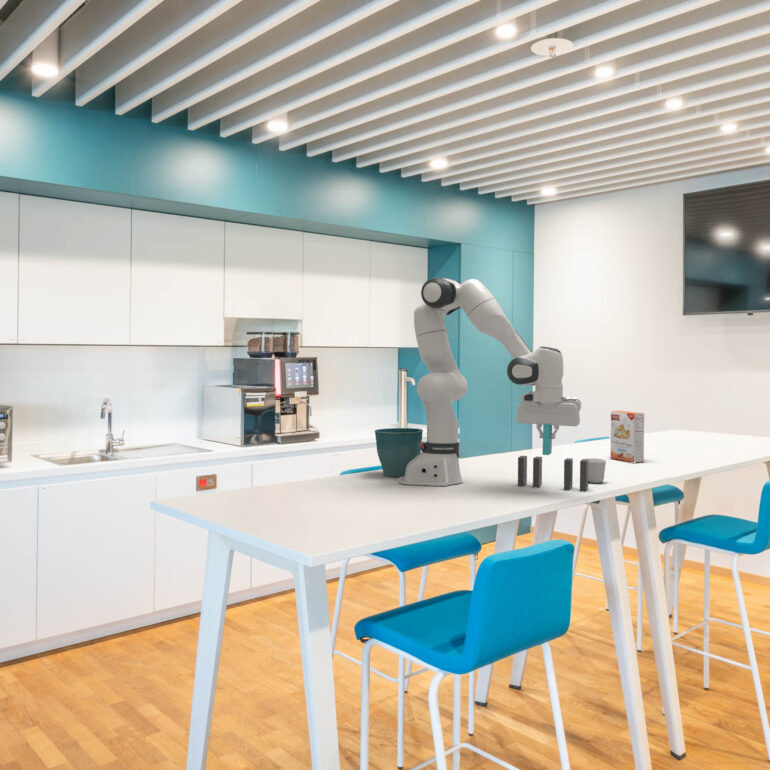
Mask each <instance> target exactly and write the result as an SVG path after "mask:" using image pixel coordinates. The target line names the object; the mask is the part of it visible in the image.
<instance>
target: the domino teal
mask: <svg viewBox="0 0 770 770" xmlns="http://www.w3.org/2000/svg"><path fill="white" fill-rule="evenodd" d="M542 432H543V438H542V453H541V454H542V455H543V456H549V455H551V454H552V448H553V447H552V446H553V445H552V444H553V439H550V433H553V425H550V424H542Z"/></svg>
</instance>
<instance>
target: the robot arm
mask: <svg viewBox="0 0 770 770" xmlns="http://www.w3.org/2000/svg"><path fill="white" fill-rule="evenodd" d="M420 296H421V299H422V301H423V303H422V304H420V305H418V306H417V307H416V308H415V309H414V311H413V312H414V313H413V326H414V333H415V338H416V342H417V348H418V353H419V357H420V359H421V361H422V362H423V364H424V365H425V366H426V368H427V369H428V372H429V373H427V374H425V375H424V376H421V378H420V379H419V380H418V382H417V385H416V393H417V396H418V397H419V399H420V400H421V401H422V404H423V405H422V406H423V409H424V413H425V419H426V441H422V442H421V443H420V446H421V453H420V454H419V455H417V456H416V457H415V458H414V459H412V460H411V461H410V462H409V463H408V464H407V466H406V470H405V476H401V477H398V482H399V484H402V485H413V486H430V487H431V486H432V487H436V486H437V487H446V486H447V487H448V486H452V485H457V484H462V483H463V478H462V474H461V467H460V459H459V458H460V454H461V453H460V452H461V451H460V449H461V446H460V442H459V419H458V418H457V417H458V416H456V414H455V411H454V406H453V402H457V401H458V400H460V399H461V398H463V397H464V396H465V395H466V394H467V391H468V388H469V387H468V382H467V379H466V378H465V376H464V375H463V374H462V373H461V371H460V369H459V367H458V364H457V362H456V360H455V358H454V355H453V351H452V349H451V345H450V339H449V336H448V332H447V327H446V321H445V317H446V316H449V315H451V314H452V313H454V312H455V311H458V310H459V309H462V311H463V312H464V313H465V315H466V316H467V318H468V320H469V321H470V322H471V324H472V325H473V326H474V327H475V328H476V329H477V330H478V331H479V332H480V333H481V334H484V335H487V336H489V337H490V338H493V339H495V340H496V341H499V342H500V343H501V344H502V345H503V346H504V348H505V349H506V350H507V352H508V353H509V355H510V356H511V357H512V358H513V359H512V360H510V361H509V363H508V364H507V368H506V374H507V377H508V379H509V381H511V383H513V384H515V385H518V386H534V391H529V392H527V393H523V394H521V395H520V401H521V402H519V404H518V407H517V411H516V421H517V423H518V424H527V425H536V429H537V431H538V433H539V439H543V429H542V428H543V424H550V425H552V426H553V429H554V430H553V431H552V433H550V439H552V440H555V439H556V435H557V434H556V433H558V431H559V430H560V426H562V427H563V426H565V427H578V426H579V425H580V423H581V418H580V417H581V416H580V411H581V409H582V401H580V399H578V398H576V397H566V396H563V394H564V386H563V377H564V357H563V354H562V353H563V352H562V351H561V350H560V349H557V348H555V347H549V346H539V347H537V349H535V350H533V351H532V350H531V349H530V348H529V345H527V343H526V342H525V341H524V339H523V338H522V337H521V335H519V333H518V332H517V330H516V329H515V327H514V326H513V325H512V324H511V322H510V320H509V318H508V317H507V316H506V314H505V312H504V311H503V309H502V307H501V306H500V304H499V303H498V301H497V300H496V298H495V297H494V295H493V294H492V293H491V292H490V290H489V289H488V288H487V287H486V286H485V285H484V284H483V283H482V282H481V281H480V280H478V279H475V278H470V279H466V280H464V281H463V282H462V283H461V282H459V281H458V280H454V279H451V278H447V277H446V278H445V277H433V278H430V279H427V280H426V281H425V282H424V283H423V285H422V287H421V290H420Z"/></svg>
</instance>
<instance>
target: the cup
mask: <svg viewBox="0 0 770 770" xmlns="http://www.w3.org/2000/svg"><path fill="white" fill-rule="evenodd" d="M586 459H589V461H588V482H590V483H589V484H600V483H603V482H604V480H605V471H606V463H607V461H606V459H603V458H594V457H593V458H592V457H591V458H590V457H589V458H586Z"/></svg>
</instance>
